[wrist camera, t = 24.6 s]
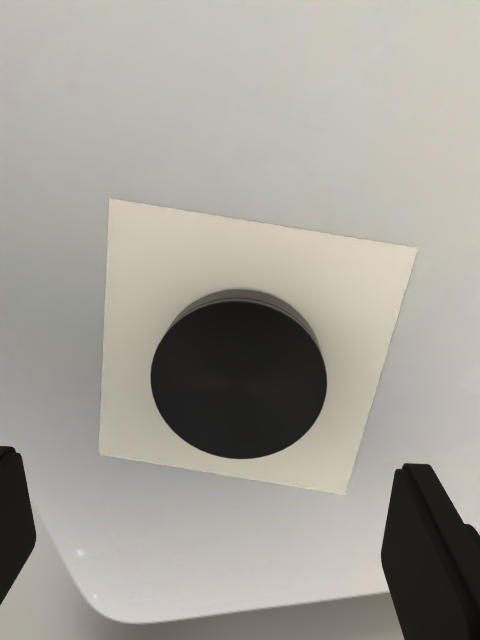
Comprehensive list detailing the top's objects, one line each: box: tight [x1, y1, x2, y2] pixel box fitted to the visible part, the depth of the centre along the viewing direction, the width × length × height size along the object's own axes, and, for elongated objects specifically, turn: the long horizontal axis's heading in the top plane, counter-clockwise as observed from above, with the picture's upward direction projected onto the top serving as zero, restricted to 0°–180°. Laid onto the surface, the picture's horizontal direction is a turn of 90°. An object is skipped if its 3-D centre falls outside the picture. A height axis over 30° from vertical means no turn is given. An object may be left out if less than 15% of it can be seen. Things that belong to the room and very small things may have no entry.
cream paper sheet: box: [98, 198, 418, 495], centre depth 18 cm, size 12×12×2 cm
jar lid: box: [150, 289, 327, 459], centre depth 17 cm, size 7×7×2 cm
